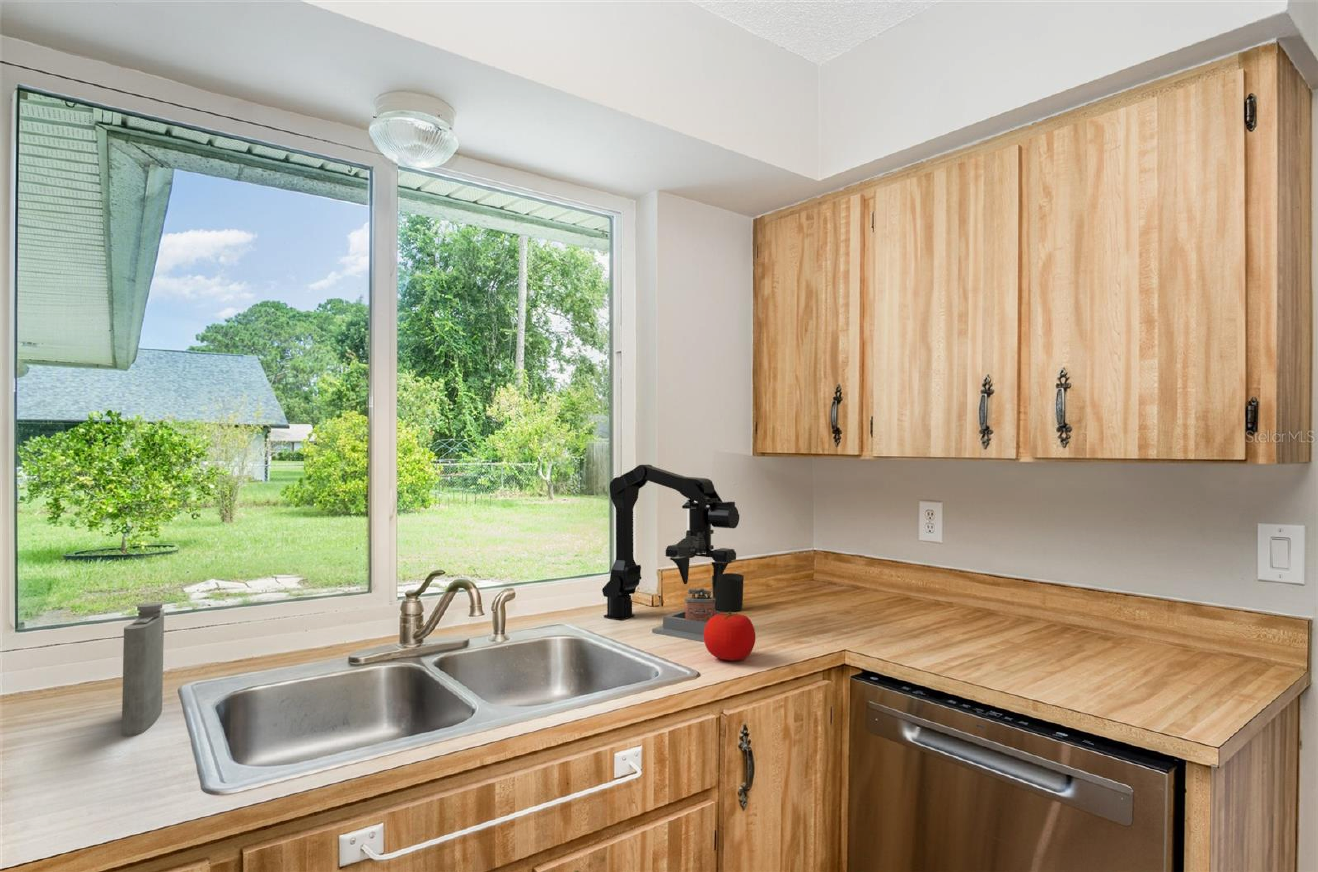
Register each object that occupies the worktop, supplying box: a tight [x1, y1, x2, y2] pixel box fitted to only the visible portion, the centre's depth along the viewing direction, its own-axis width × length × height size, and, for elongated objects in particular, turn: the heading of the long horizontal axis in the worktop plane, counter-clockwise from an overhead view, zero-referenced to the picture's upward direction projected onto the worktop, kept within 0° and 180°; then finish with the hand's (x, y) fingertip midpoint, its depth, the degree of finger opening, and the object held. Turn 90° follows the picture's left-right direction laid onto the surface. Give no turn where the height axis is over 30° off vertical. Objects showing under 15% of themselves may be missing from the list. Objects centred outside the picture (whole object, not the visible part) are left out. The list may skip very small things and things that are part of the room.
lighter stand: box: [651, 609, 726, 643], centre depth 187 cm, size 18×18×4 cm
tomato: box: [703, 612, 757, 661], centre depth 162 cm, size 11×12×10 cm
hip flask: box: [121, 602, 165, 737], centre depth 125 cm, size 16×4×20 cm, turn 24°
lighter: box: [684, 587, 716, 622], centre depth 187 cm, size 8×3×10 cm, turn 86°
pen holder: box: [711, 572, 744, 613], centre depth 214 cm, size 9×9×10 cm
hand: (700, 585), depth 188 cm, fingers open, 9 cm apart
